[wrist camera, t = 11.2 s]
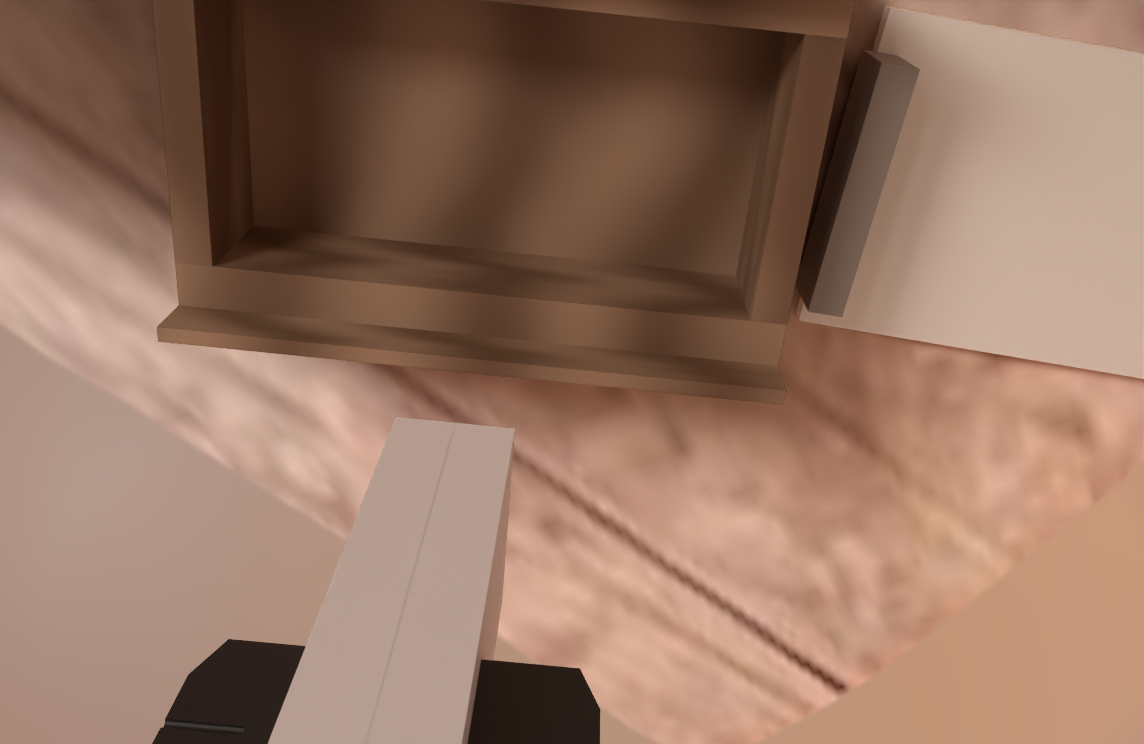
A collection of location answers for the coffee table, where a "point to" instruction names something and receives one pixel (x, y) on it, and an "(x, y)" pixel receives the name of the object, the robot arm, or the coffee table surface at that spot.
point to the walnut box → (499, 182)
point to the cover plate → (986, 196)
